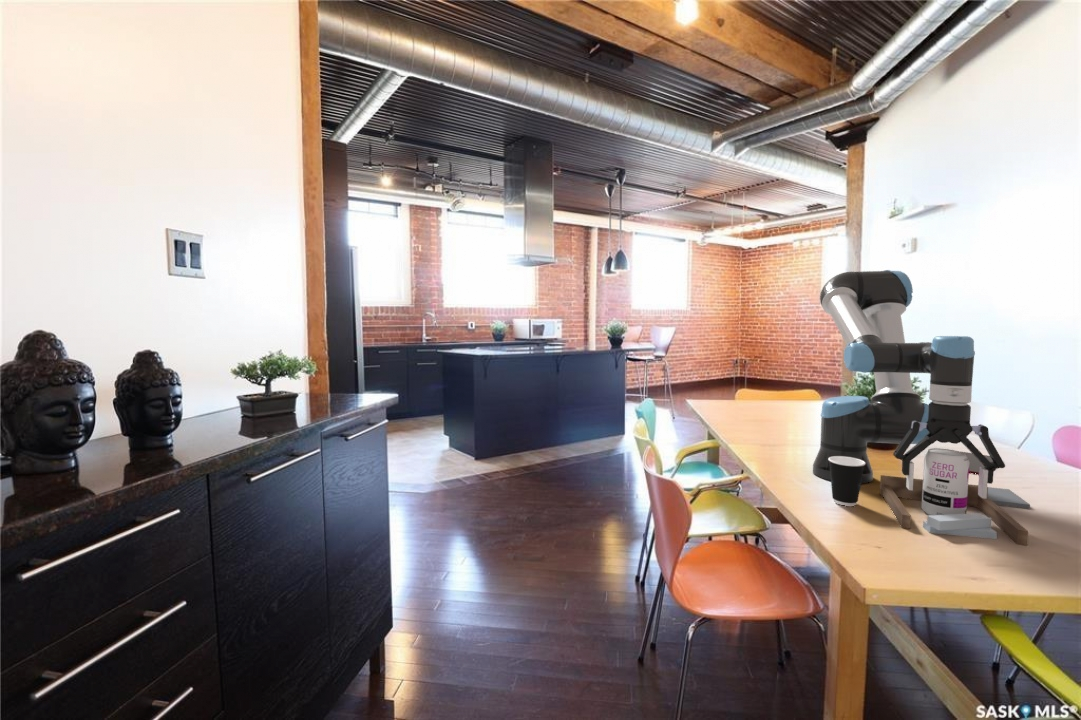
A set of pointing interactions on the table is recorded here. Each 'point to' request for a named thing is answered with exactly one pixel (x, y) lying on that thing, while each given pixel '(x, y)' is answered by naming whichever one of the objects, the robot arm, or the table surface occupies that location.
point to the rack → (897, 488)
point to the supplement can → (945, 482)
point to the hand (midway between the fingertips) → (944, 492)
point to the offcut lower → (964, 532)
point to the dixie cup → (846, 479)
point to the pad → (1006, 498)
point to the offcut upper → (959, 521)
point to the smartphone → (975, 463)
